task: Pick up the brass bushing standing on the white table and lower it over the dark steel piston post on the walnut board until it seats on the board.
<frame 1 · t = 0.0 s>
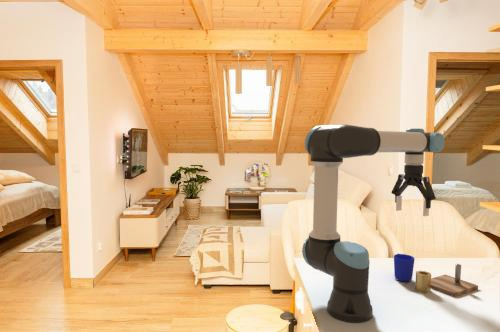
hand: (411, 213, 165), 28 cm above the table, fingers open, 13 cm apart
board: (449, 286, 155), on the table
post: (457, 287, 155), resting on board
bushing: (422, 290, 151), on the table
mug: (401, 278, 165), on the table
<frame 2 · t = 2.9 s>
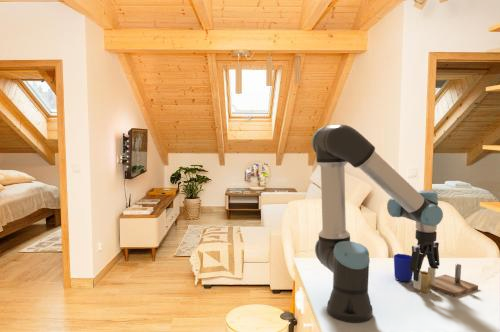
hand: (424, 285, 152), 2 cm above the table, fingers open, 8 cm apart
nothing on the table moved.
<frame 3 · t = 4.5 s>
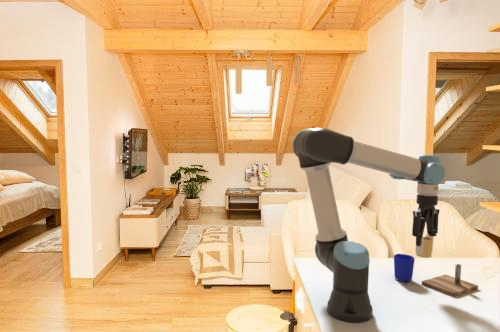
hand: (423, 252, 150), 15 cm above the table, fingers closed on bushing, 5 cm apart
bushing: (423, 255, 150), point 14 cm above the table, touching gripper
everything else where it was.
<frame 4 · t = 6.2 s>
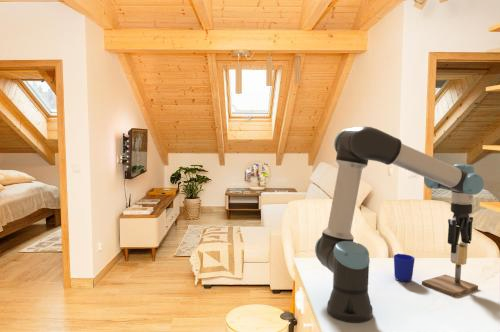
hand: (458, 259, 154), 12 cm above the table, fingers closed on bushing, 5 cm apart
bushing: (458, 262, 154), point 10 cm above the table, touching gripper
everything else where it was.
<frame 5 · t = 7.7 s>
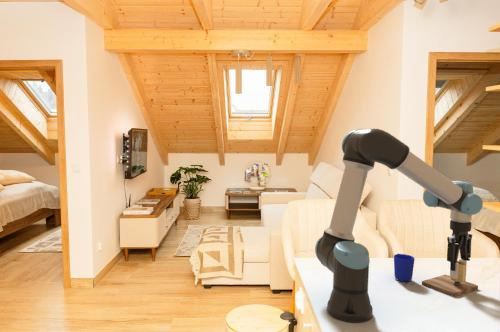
hand: (457, 276, 154), 5 cm above the table, fingers closed on bushing, 5 cm apart
bushing: (457, 279, 154), point 3 cm above the table, touching gripper
everything else where it was.
when the fingers open (3 cm above the table, at t = 8.5 s): bushing stays where it is, resting on board.
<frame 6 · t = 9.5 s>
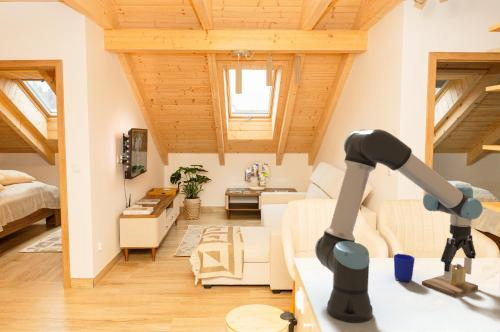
hand: (457, 276, 154), 5 cm above the table, fingers open, 13 cm apart
bushing: (457, 283, 155), point 1 cm above the table, touching board
everything else where it was.
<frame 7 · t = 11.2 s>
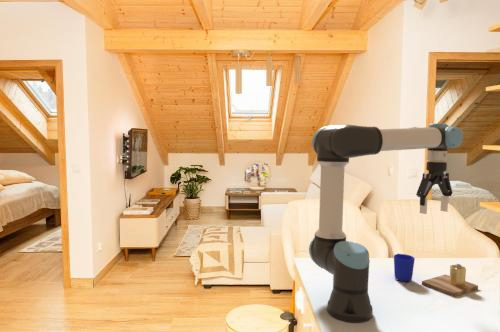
hand: (433, 212, 158), 30 cm above the table, fingers open, 13 cm apart
nothing on the table moved.
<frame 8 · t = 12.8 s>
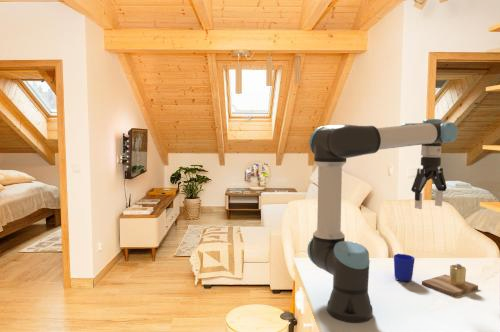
hand: (428, 207, 159), 32 cm above the table, fingers open, 13 cm apart
nothing on the table moved.
at the end: bushing 0.1 cm from the post (horizontally); bushing point 1.5 cm above the table; bushing tilted 0° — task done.
